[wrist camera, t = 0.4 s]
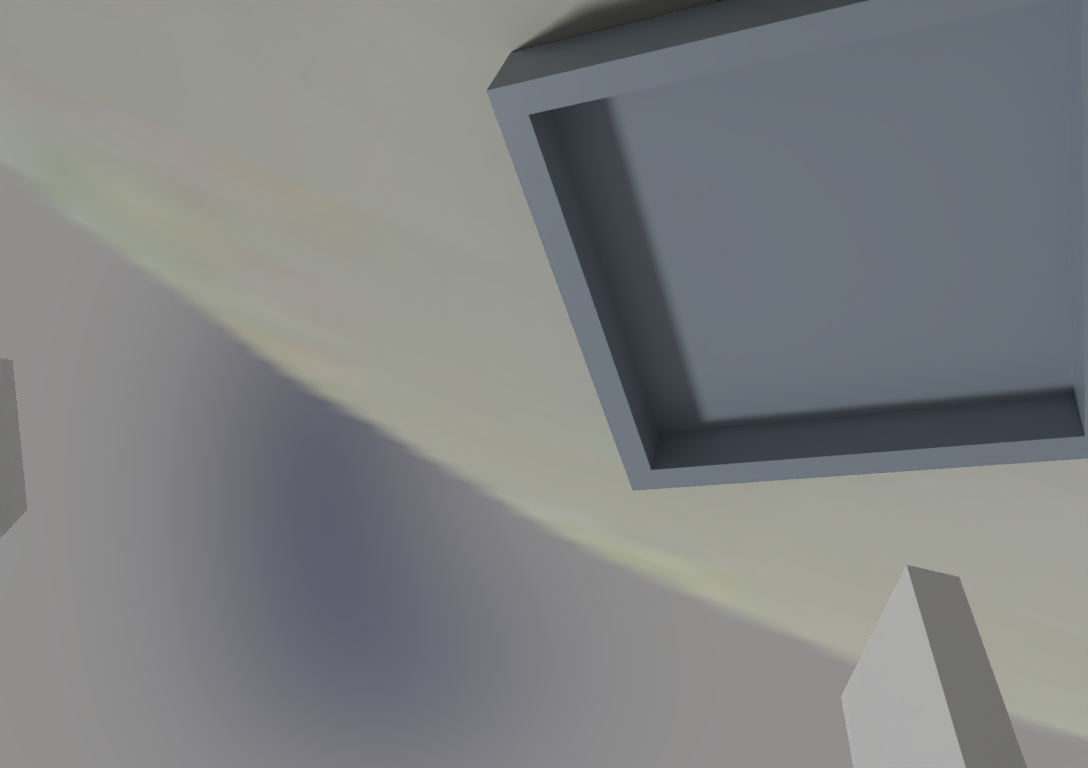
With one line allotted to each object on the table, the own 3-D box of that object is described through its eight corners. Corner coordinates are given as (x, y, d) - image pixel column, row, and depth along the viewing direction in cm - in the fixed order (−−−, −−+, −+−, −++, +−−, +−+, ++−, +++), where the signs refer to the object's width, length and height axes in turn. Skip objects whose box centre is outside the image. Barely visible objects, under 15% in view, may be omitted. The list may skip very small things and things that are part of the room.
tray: (1104, -96, 31) (1129, -61, 28) (1101, 399, 42) (1119, 455, 39) (510, 52, 38) (486, 90, 35) (643, 440, 49) (632, 490, 47)
